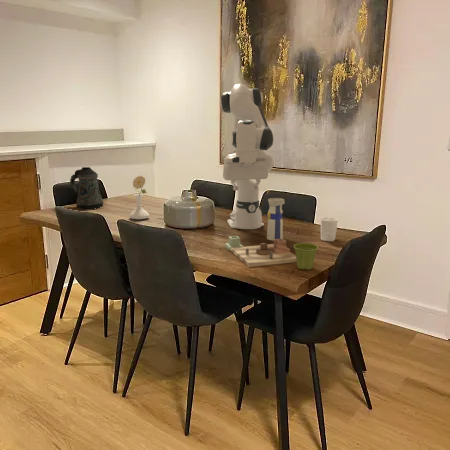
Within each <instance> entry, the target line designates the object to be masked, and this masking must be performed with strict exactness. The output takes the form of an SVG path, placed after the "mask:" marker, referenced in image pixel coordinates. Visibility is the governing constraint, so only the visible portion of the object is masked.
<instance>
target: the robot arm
mask: <svg viewBox="0 0 450 450" xmlns="http://www.w3.org/2000/svg"><path fill="white" fill-rule="evenodd" d="M263 101H264V97H263V93H262V91H261V90H260V89H259V88H258V87H252V88H249V87H248V86H247V85H245V84H243V83H237V84H235V85H234V86H232V87H231V91H226V92H223V93H222V94H221V95H220V99H219V105H220V109H221V110H222V112H224V113H227V114H230V113H231V114H232V115H233V116H234V117H233V119H234V120H233V127H234V130H233V131H232V132H231V133H232V134H231V135H232V143H231V145H232V146H233V148H235V152H234V153H230V154H227V155H226V157H225V158H224V162H223V168H222V170H223V171H222V178H223V179H224V180H225V181H230V183H231V185H232V187H233V188H232V189H233V191H237V192H236V193H237V199H236V203H235V208H234V209H233V210H232V212H231V213H229V217H230V218H229V219H227V220H226V221H227V223H228V225H229V227H230V229H231V228H232V229H240V230H256V229H260V228H262V227H264V226H265V223H264V222H263V220H262V219H263V218H262V210H261V209H260V200H259V198H260V197H259V195H260V192H259V191H260V190H259V189H260V188H259V185H260V183H261V180H266V179H268V177H269V173H270V172H271V170H272V169H273V166H274V160H273V157H272V155H271V154H270V153H267V152H266V151H268V150H269V149H270V148H271V147H273V145H274V135H273V131H272V129H271V128H270V127H269V125H268V122H267V120H266V117H265V113H264V112H263V110H262V109H261V107H262V104H263ZM253 180H255V181H253Z"/></svg>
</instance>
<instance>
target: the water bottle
mask: <svg viewBox="0 0 450 450" xmlns="http://www.w3.org/2000/svg"><path fill="white" fill-rule="evenodd" d="M266 194H267V195H268V194H269V191H267V193H266ZM267 203H268V205H269V209H268V211H267V216H266V217H267V228H266V229H267V232H266V233H267V234H266V239H267V240H269V241H273V242H274V239H284V237H283V235H284V234H283V229H284V228H283V226H284V224H283V223H284V222H283V221H284V220H283V213H284V211H283V209H282V208H283V205H285V199H284V198H280V197H271V198H268V199H267Z"/></svg>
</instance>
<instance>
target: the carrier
mask: <svg viewBox="0 0 450 450" xmlns="http://www.w3.org/2000/svg"><path fill="white" fill-rule="evenodd" d="M230 252H231V253H233V254H234V255H235V256H236V257H237V258H238V259H239V260H240V261H241V262H242V263H244V264H245V266H247V267H248V268H250V267H261V266H263V267H264V266H270V265H281V264H290V263H297V259H296V254H295V255H294V254H293V253H292V252H291V249H290V248H289V247H287V240H286V239H284V238H283V239H274V241H273V243H269V244H268V243H267V242H260V243H259V244H257V245H250V246H249V245H248V246H247V245H246V246H243V247H234V248H231V251H230Z"/></svg>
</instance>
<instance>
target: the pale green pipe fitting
mask: <svg viewBox="0 0 450 450" xmlns="http://www.w3.org/2000/svg"><path fill="white" fill-rule="evenodd" d="M224 247H225V248H226V249H227V250H228V251H230V252H231V248H234V247H244V245H243V244H241V238H240V237H239V236H238V235H231V236H228V242H225V243H224Z"/></svg>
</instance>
